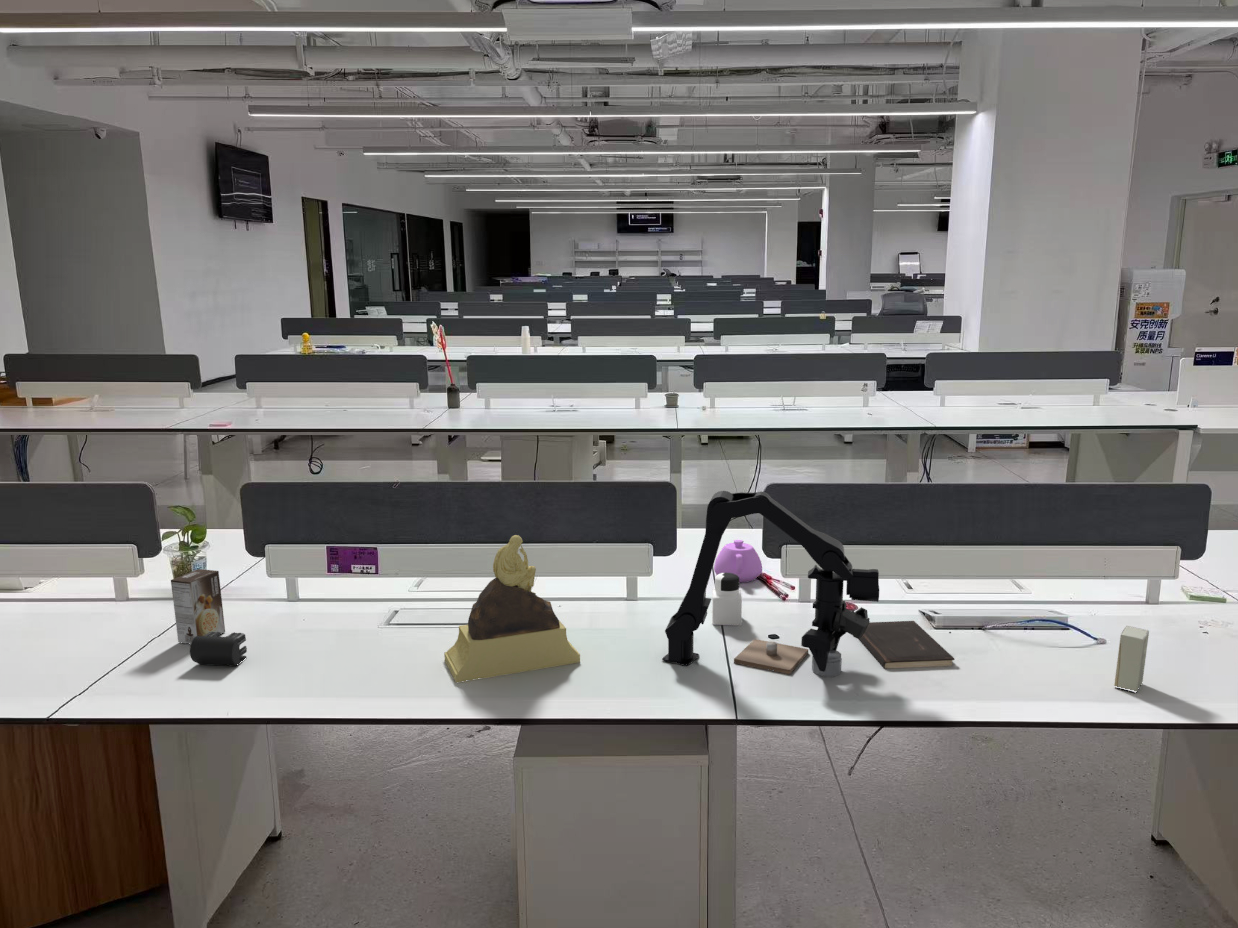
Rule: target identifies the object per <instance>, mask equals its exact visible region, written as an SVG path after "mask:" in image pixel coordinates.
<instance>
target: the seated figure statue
mask: <svg viewBox="0 0 1238 928" xmlns="http://www.w3.org/2000/svg"><path fill="white" fill-rule="evenodd" d="M523 543H524V541H523V539H522V537H521V536H520V535H519V534H518V535H517V534H515V535H512V536H511V537H510V539H509V541H508V543H506V544H505V545H503V546H501V547H500V548H498V550H497V552H496V555H495V556H494V558H493V559H494V560H493V564H492V571H493V573H494V577H495V578H492V579H491V580H490V581H489V582H488V583H487V584H486V586H485V587H484V588H483V590H482V591H481V592H480V593H479V595H478V598H477V600H476V601H475V602H474V603H473V604H472V606H471V610H470V614H469V616H468V619H467V624H462V625H458V635H457V639H456V640H455V642H454V644H453V645H452V646H451V647H450V648H449V649H448V650H446V652H444V653H443V654H444V656H443V657H444V662H445V664H446V665H447V667H448V670H449V671H450V673H451V675H452V677H453V680H454V681H455V683H457V682H458V683H463V682H462V681H464V682H467V681H466V680H470V681H474V680H473V679H476V680H479V679H478V678H482V679H487V678H493V677H499V676H505V675H511V674H519V673H523V672H531V671H534V670H535V671H536V670H542V669H543V670H544V669H546V668H554V667H558V666H567V665H572V664H578V663H581V653H579V651H578V650H577V649H576V648H575V647H574V646H573V645H572V644H571V642H570V641H569V640H568V635H567V627H566V626H565V625H564V624H563V622H561V621H560V620H559V619H558V617H557V615H556V614H555V611H554V609H553V605H552V602H551V601H549V600H545V599H544V598H542V597H539V596H538V595H537V594H536V592H533V591H532V587H534V586H535V576H536V571H537V567H536V566H534V565H529V560H528V556H527V555H528V554H527V553H526V551H525V550H524V548H523V546H522V544H523ZM518 552H520V553H521V554H522V555H523V559H522V557H521V555H520V554H519V553H518ZM458 683H457V684H458Z"/></svg>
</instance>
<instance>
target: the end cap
mask: <svg viewBox="0 0 1238 928" xmlns="http://www.w3.org/2000/svg"><path fill="white" fill-rule="evenodd" d="M220 634H221V632H209V633H207V634H206V635H204V636H196V637H195V638H194V639H193V641H192V643H191V645H190V647H189V655H190V656H189V657H190V658H191V661H192V662H194V663H197V664H198V665H207V664H214V665H213V666H229V665H234V666H233V667H237V666H236V665H237V664H239V663H240V662H241V661H243V660H244V659H245V658H246V659H247V656H246V655H245V654H246V653H247V652H248V651H247V650H248V648H247V645H244V646H242V647H241V648H240V646H241V645H242V644H243V643H245V642H246V641H247V638H246V634H245V633H243V632H231V634H228V635H227V636H221V635H222V634H221V635H220ZM244 661H245V660H244ZM244 661H243V662H244ZM239 665H240V664H239Z"/></svg>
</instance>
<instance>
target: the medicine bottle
mask: <svg viewBox="0 0 1238 928" xmlns="http://www.w3.org/2000/svg"><path fill="white" fill-rule="evenodd" d="M714 579H715V580H714V588H713V589H712V611H711V613H712V615H711V616H712V625H713V626H737V627H738V626H740V627H741V626H742V609H743V608H742V606H743V604H742V603H743V600H742V598H743V596H742V590H741V589H740V582H739V577H738V575H736V574H733V573H720V574H718V575H717V574H716V575H715V577H714Z"/></svg>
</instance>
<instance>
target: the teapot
mask: <svg viewBox="0 0 1238 928" xmlns="http://www.w3.org/2000/svg"><path fill="white" fill-rule="evenodd" d="M717 554H718V555H716V558H715V561H714V565H713V569H714V570H713V571H714V573H715V574H716V575H718V574H720V573H733V574H736V575H738V577H739V583H748V581H749V582H753V581H755V580H756V579H755V578H757V576H759V575H760V574H761V575H762V573H763V564H762V560H761V558H760V556H759V554H758V553H757V551H756V549H755V548H754V546H753V545H751V544H749V543H745V542H744V540H743V539H734V540H733V542H730V543H726V544H725V545H724V546H722V548H721V550H720V551H719V552H718V553H717ZM759 577H760V576H759ZM754 579H755V580H754ZM757 579H758V578H757ZM752 580H753V581H752Z"/></svg>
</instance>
